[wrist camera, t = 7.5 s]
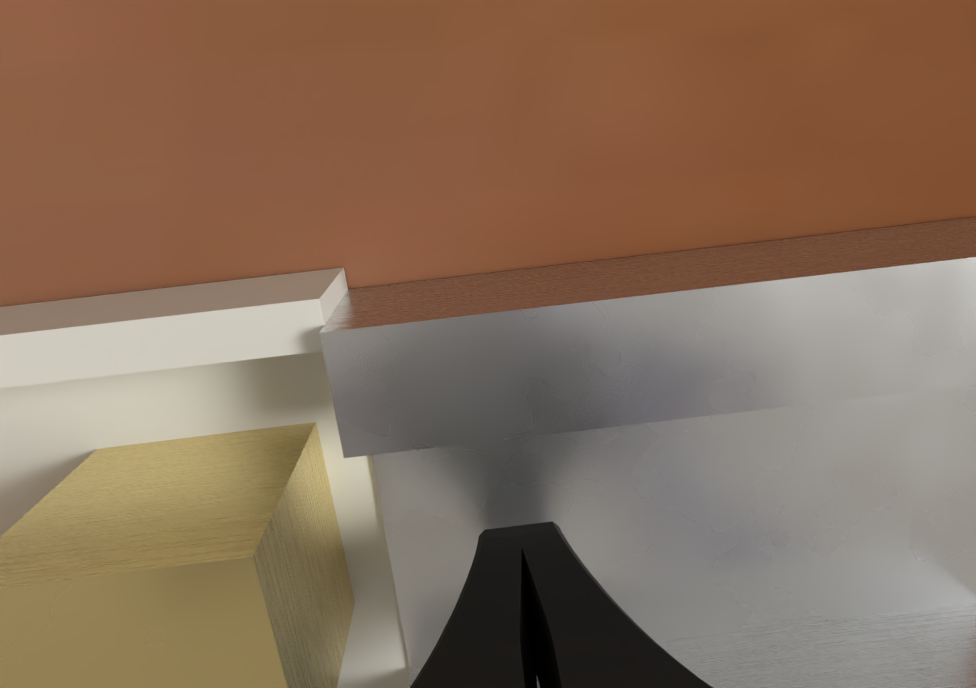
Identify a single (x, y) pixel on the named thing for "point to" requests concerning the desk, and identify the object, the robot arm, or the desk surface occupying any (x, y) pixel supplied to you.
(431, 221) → the desk surface
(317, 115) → the desk surface
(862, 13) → the desk surface
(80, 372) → the tray
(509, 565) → the robot arm
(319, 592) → the brass cube
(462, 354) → the aluminium channel
